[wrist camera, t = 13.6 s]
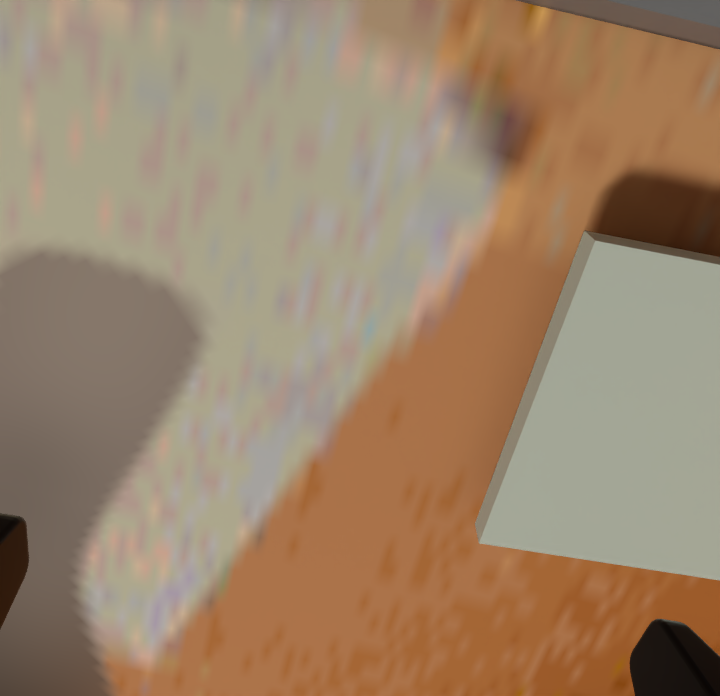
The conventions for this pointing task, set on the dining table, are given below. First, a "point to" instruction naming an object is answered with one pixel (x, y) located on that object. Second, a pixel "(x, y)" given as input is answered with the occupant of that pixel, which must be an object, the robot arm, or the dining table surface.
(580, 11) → the tub
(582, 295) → the lid
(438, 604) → the dining table surface
